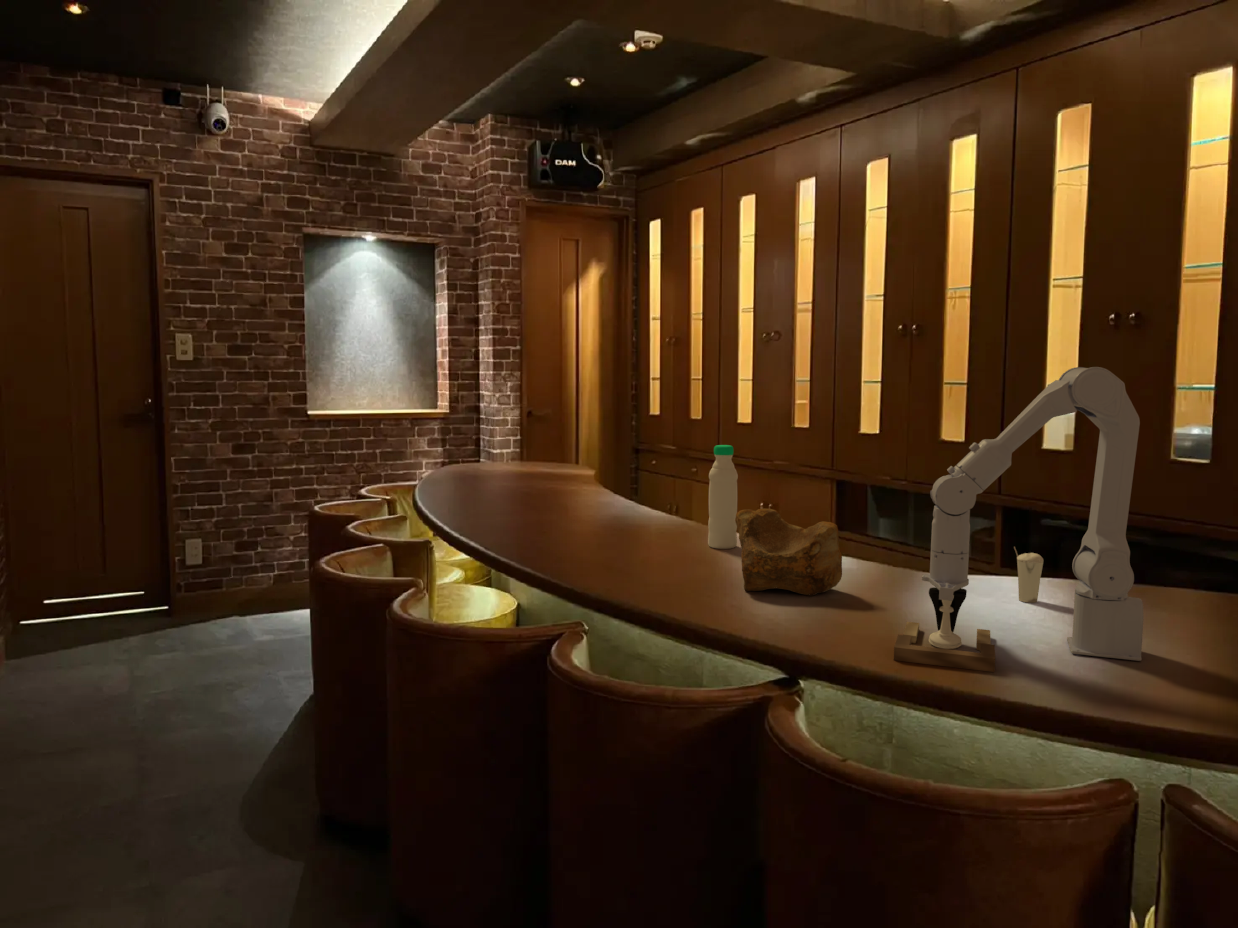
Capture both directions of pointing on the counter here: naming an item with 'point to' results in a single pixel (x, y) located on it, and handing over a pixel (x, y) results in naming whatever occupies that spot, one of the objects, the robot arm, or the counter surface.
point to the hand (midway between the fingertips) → (945, 633)
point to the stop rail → (945, 655)
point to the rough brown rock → (787, 553)
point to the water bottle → (722, 500)
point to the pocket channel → (913, 630)
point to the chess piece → (945, 630)
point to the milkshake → (1029, 576)
